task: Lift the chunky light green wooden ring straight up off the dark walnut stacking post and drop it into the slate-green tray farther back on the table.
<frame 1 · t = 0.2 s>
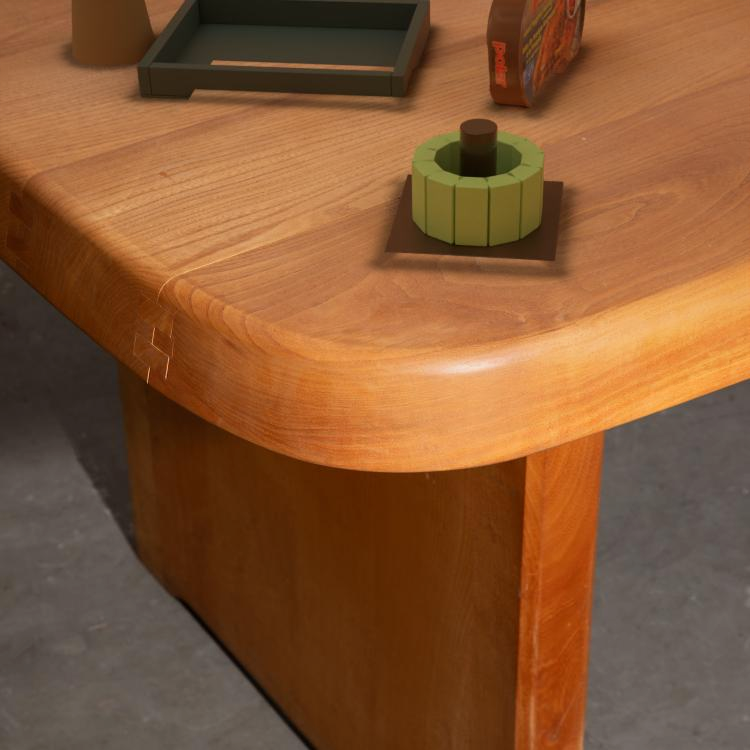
cork: (115, 57, 103), on the table
stand: (477, 233, 80), on the table
ring: (477, 214, 80), point 1 cm above the table, touching stand
tin: (535, 86, 97), on the table
tray: (291, 67, 100), on the table
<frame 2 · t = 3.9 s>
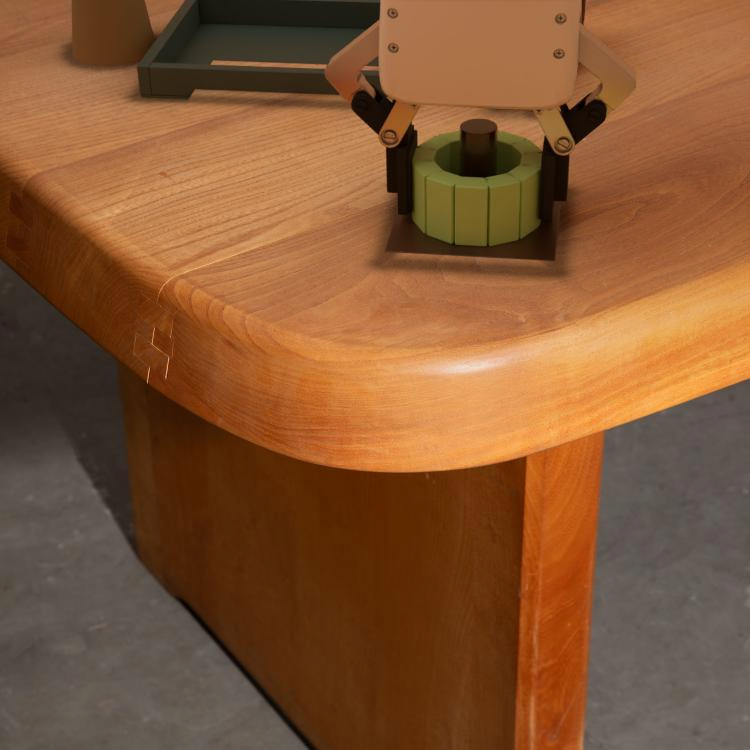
hand: (477, 204, 79), 2 cm above the table, tool pointing down, fingers closed on ring, 7 cm apart
ring: (477, 214, 80), point 1 cm above the table, touching gripper, stand
everything else where it was.
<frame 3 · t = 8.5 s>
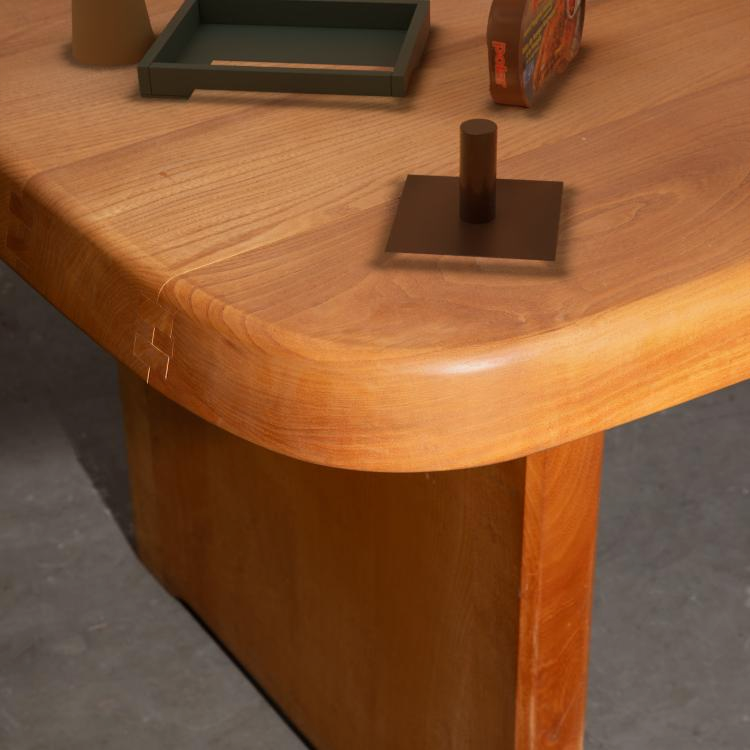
when the fingers open (1 cm above the table, at t = 12.9 s): ring stays where it is, resting on tray.
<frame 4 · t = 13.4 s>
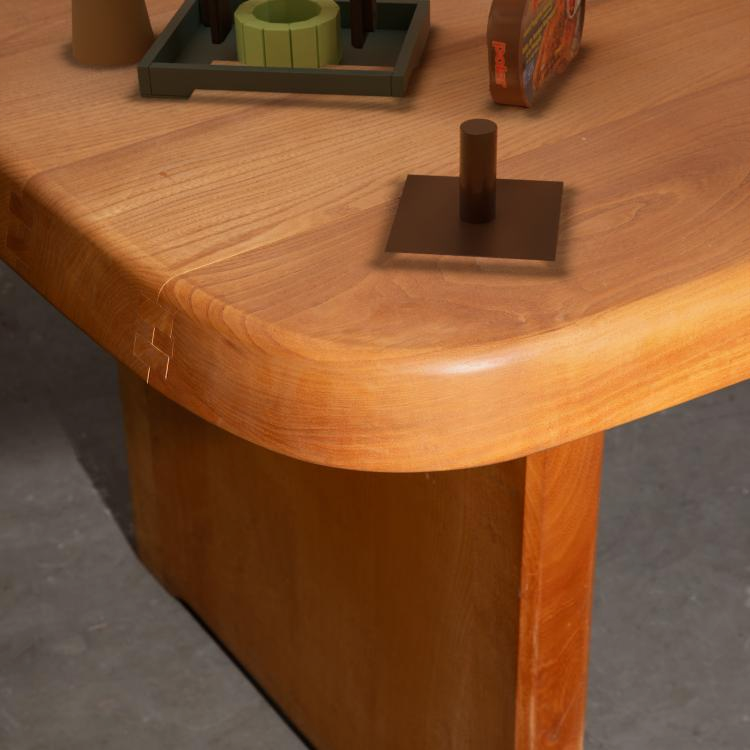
hand: (291, 39, 99), 2 cm above the table, tool pointing down, fingers open, 9 cm apart
ring: (290, 59, 100), point 1 cm above the table, touching tray
everything else where it was.
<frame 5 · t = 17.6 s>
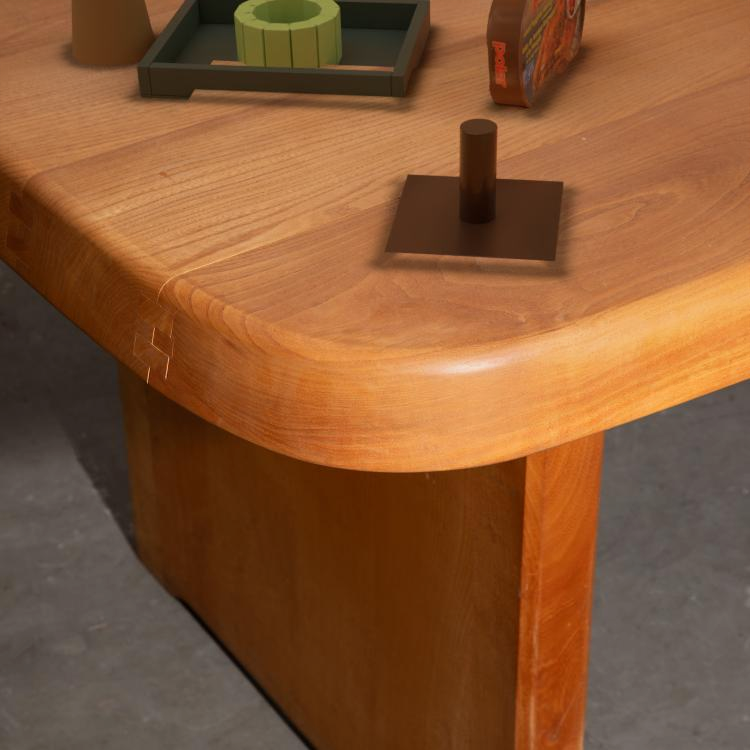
nothing on the table moved.
at the end: ring inside the target area in the tray (0.1 cm from its centre), point 0.6 cm above the tray's base; ring tilted 0°; the gripper is holding nothing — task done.
